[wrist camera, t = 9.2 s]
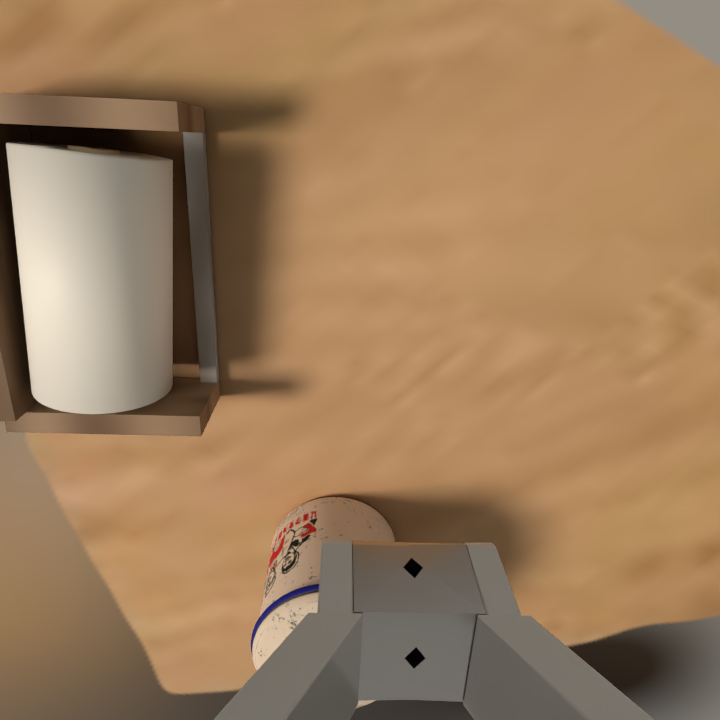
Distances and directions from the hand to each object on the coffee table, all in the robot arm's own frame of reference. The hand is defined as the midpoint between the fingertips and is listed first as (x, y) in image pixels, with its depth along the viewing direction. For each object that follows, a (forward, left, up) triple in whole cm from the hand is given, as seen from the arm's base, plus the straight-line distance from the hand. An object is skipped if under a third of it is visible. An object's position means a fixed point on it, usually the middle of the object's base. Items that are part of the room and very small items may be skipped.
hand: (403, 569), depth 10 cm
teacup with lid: (+2, +21, -24) cm, 32 cm away
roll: (+13, 0, -20) cm, 24 cm away
